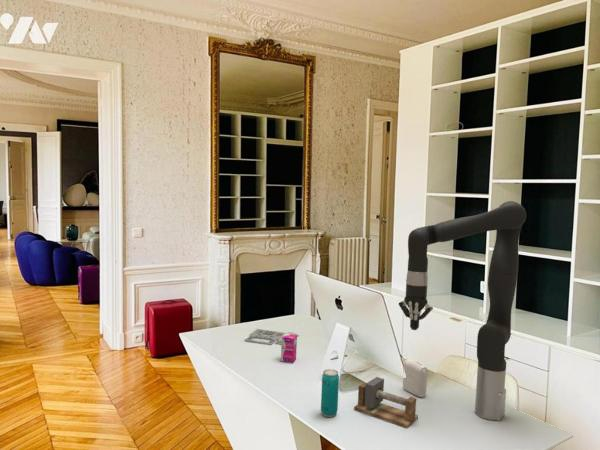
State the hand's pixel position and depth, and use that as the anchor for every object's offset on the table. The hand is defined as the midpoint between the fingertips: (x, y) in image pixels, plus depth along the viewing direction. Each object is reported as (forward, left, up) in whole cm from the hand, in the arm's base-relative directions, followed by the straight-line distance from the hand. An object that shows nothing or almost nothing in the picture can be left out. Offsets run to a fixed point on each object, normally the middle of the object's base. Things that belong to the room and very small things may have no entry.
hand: (414, 329), depth 181 cm
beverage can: (+17, +29, -27) cm, 43 cm away
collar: (+7, +16, -24) cm, 30 cm away
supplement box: (+59, -2, -27) cm, 65 cm away
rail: (+2, +16, -27) cm, 31 cm away
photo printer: (+2, -8, -27) cm, 29 cm away
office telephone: (+85, -21, -28) cm, 92 cm away
